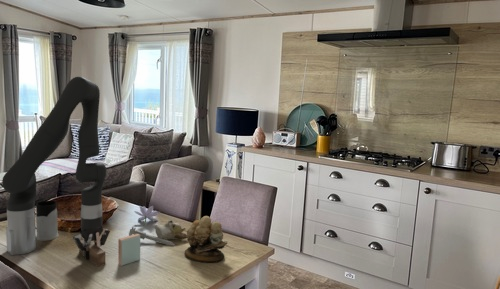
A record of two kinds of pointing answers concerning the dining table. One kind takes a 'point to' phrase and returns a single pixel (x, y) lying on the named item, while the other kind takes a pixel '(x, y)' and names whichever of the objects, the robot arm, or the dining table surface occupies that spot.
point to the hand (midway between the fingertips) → (92, 257)
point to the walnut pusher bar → (95, 254)
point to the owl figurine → (205, 241)
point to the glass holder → (46, 220)
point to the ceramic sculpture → (170, 231)
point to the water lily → (147, 213)
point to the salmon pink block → (128, 249)
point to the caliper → (149, 237)
